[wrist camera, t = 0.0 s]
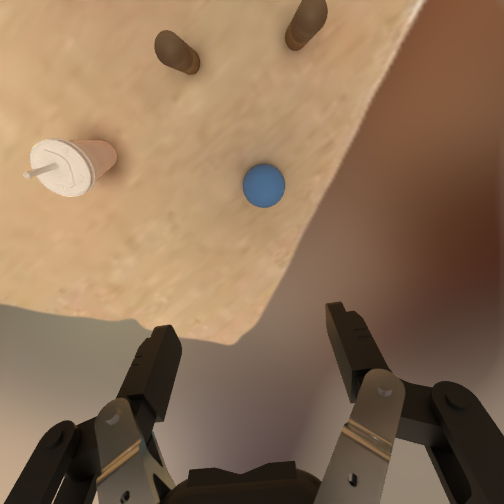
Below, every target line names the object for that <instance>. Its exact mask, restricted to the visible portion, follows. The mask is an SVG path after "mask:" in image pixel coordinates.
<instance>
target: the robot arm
mask: <svg viewBox="0 0 504 504" xmlns="http://www.w3.org/2000/svg"><path fill="white" fill-rule="evenodd" d="M325 307H326V327H327V332H328V336H329V339H330V342H331V345H332V348H333V351H334V354H335V358H336V361H337V364H338V366H339V370H340V372H341V376H342V379H343V382H344V384H345V387H346V391H347V394H348V397H349V400H350V403H355V404H354V407H353V409H352V412H351V415H350V417H349V420H348V422H347V423H346V424H345V425H344V426H343V428H342V431H341V433H340V436H339V438H338V441H337V444H336V446H335V449H334V451H333V454H332V457H331V459H330V462H329V465H328V467H327V470H326V473H325V475H324V477H323V480H322V481H320V480H319V479H318V478H317V477H315V476H313V475H312V474H310V473H308V472H306V471H303V470H300V469H297V468H296V464H295V461H287V462H276V463H267V464H265V465H263V466H260V467H258V468H256V469H253V470H251V471H249V472H246V473H244V474H236V473H233V472H229V471H225V470H222V469H218V468H204V469H192V470H189V475H188V479H186V480H185V481H183V482H181V483H180V484H178V485H177V486H176V485H175V483H174V481H173V479H172V478H171V476H170V474H169V472H168V470H167V468H166V465H165V462H164V459H163V457H162V454H161V451H160V448H159V446H158V443H157V440H156V438H155V435H154V432H153V431H152V430H153V426H154V423H155V422H163V421H164V418H165V415H166V411H167V407H168V403H169V400H170V395H171V392H172V389H173V385H174V381H175V377H176V374H177V370H178V366H179V363H180V359H181V355H182V346H181V342H180V340H179V338H178V336H177V334H176V333H175V331H174V329H173V327H172V325H164V326H157V327H155V328H154V330H153V332H152V335H151V337H150V338H146V339H145V341H144V342H143V343H142V344H141V345H140V347H139V348H138V350H137V353H136V355H135V359H134V360H133V362H132V364H131V367H130V368H129V371H128V373H127V375H126V377H125V379H124V382H123V384H122V386H121V388H120V391H119V393H118V395H117V397H116V399H115V400H112V401H111V402H109V403H108V404H107V405H106V406H104V407H103V408H102V410H101V411H100V412H99V414H98V416H96V417H94V418H92V419H90V420H87V421H85V422H83V423H81V424H78V425H75V424H74V423H73V422H72V421H69V420H67V421H62V422H60V423H58V424H56V425H55V426H53V427H52V428H51V429H49V430H48V432H46V433H45V435H44V436H43V437H42V438H41V440H40V441H39V443H38V445H37V446H36V449H35V450H34V452H33V454H32V455H31V457H30V459H29V461H28V462H27V464H26V466H25V467H24V469H23V471H22V473H21V475H20V477H19V478H18V480H17V481H16V483H15V485H14V487H13V489H12V490H11V492H10V494H9V496H8V497H7V499H6V501H5V502H4V504H51V503H52V501H53V499H54V497H55V495H56V492H57V490H58V488H59V486H60V484H61V481H62V479H63V477H65V478H64V480H63V482H62V484H61V487H60V489H59V491H58V493H57V496H56V498H55V500H54V503H53V504H92V502H93V499H94V496H95V494H96V491H97V492H98V499H99V504H380V499H381V495H382V490H383V486H384V483H385V478H386V474H387V470H388V466H389V462H390V457H391V453H392V449H393V445H394V440H395V438H399V439H403V440H407V441H410V442H414V443H417V444H421V445H424V446H425V448H426V450H427V452H428V455H429V457H430V459H431V461H432V464H433V466H434V468H435V470H436V472H437V475H438V477H439V479H440V482H441V484H442V486H443V488H444V491H445V493H446V495H447V497H448V499H449V502H450V504H504V436H503V434H502V433H501V431H500V430H499V428H498V427H497V426H496V424H495V423H494V421H493V420H492V418H491V417H490V416H489V414H488V412H487V411H486V410H485V408H484V407H483V406H482V404H481V402H480V401H479V400H478V398H477V397H476V396H475V395H474V394H473V393H472V392H471V391H469V390H468V389H467V388H465V387H463V386H462V385H460V384H457V383H454V382H450V381H441V382H438V383H436V384H435V385H434V386H433V388H432V387H427V386H422V385H416V384H412V383H409V382H406V381H404V380H402V379H400V378H398V377H397V376H396V375H395V374H394V373H393V372H392V371H391V370H390V369H389V368H388V366H387V364H386V362H385V360H384V358H383V356H382V354H381V352H380V350H379V349H378V347H377V344H376V343H375V341H374V339H373V337H372V335H371V333H370V331H369V330H368V327H367V325H366V323H365V322H364V319H363V318H362V317H361V316H360V315H359V314H357V313H356V312H355V311H350V312H346V311H345V308H344V306H343V304H342V302H334V303H326V306H325Z"/></svg>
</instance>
